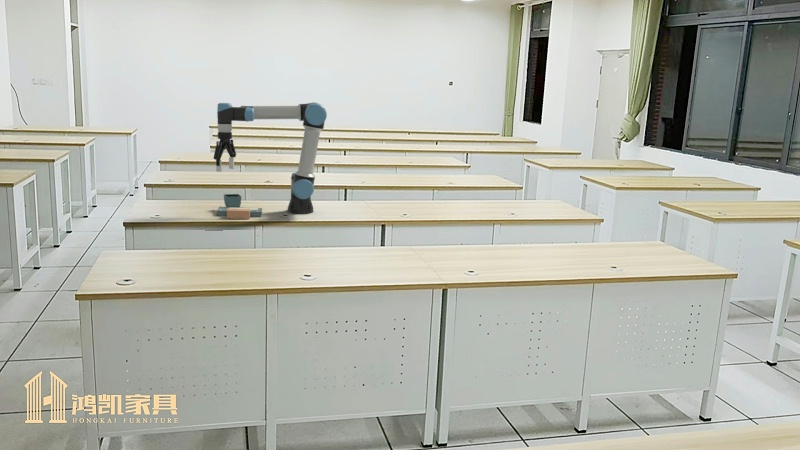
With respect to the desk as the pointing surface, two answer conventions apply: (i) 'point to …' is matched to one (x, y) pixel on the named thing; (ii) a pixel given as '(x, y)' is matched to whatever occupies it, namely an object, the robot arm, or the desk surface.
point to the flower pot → (232, 200)
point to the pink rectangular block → (238, 213)
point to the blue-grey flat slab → (253, 211)
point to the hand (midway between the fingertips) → (225, 170)
